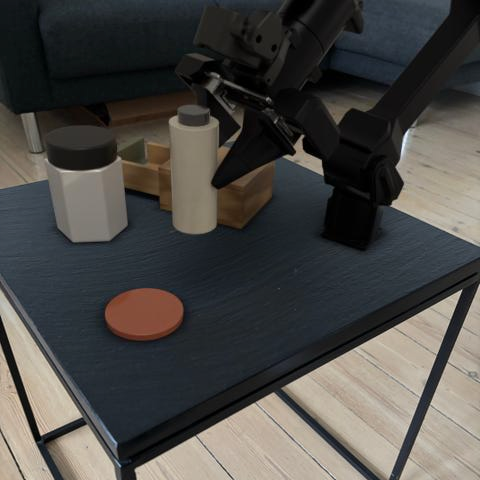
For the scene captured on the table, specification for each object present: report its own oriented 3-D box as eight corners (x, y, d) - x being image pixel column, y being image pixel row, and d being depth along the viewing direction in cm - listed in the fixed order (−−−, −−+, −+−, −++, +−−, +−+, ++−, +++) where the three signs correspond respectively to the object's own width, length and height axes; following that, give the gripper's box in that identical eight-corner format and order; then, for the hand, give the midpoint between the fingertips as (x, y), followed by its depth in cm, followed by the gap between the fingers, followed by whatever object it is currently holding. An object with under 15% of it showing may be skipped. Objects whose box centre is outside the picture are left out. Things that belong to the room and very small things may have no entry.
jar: (138, 232, 67) (130, 141, 60) (79, 251, 63) (63, 155, 56) (105, 207, 73) (94, 119, 65) (49, 222, 68) (31, 131, 61)
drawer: (94, 184, 76) (90, 155, 73) (133, 161, 84) (131, 134, 81) (169, 203, 72) (168, 173, 70) (203, 177, 80) (203, 149, 77)
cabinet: (159, 208, 73) (157, 167, 69) (197, 179, 81) (197, 141, 78) (241, 229, 69) (243, 186, 66) (272, 196, 78) (275, 157, 74)
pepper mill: (203, 209, 54) (203, 99, 47) (225, 228, 51) (228, 113, 44) (165, 218, 52) (159, 105, 45) (185, 238, 49) (182, 120, 42)
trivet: (199, 311, 55) (198, 305, 54) (148, 352, 49) (147, 345, 49) (142, 285, 58) (141, 279, 57) (88, 320, 53) (87, 314, 52)
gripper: (189, -46, 47) (92, 98, 48) (339, -24, 35) (207, 164, 37) (252, 43, 56) (168, 163, 57) (387, 84, 44) (279, 232, 46)
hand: (199, 178), depth 49 cm, fingers closed on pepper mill, 4 cm apart
